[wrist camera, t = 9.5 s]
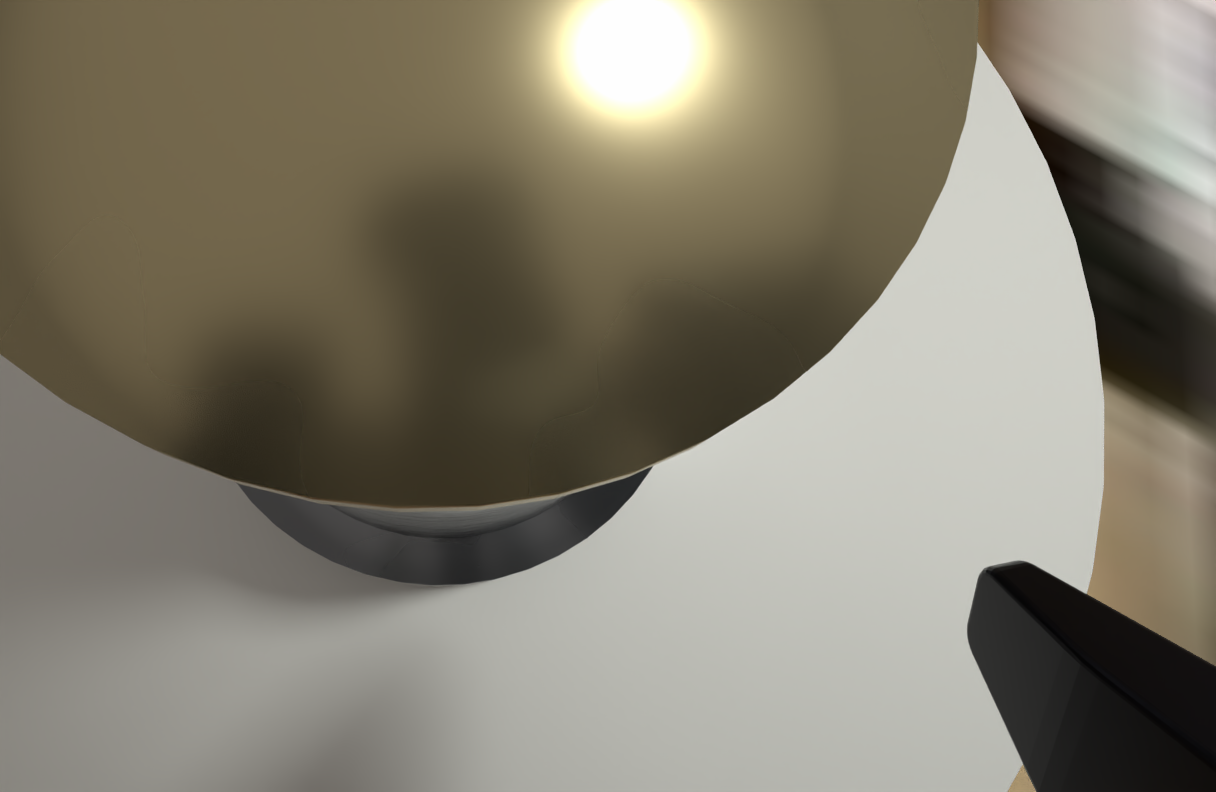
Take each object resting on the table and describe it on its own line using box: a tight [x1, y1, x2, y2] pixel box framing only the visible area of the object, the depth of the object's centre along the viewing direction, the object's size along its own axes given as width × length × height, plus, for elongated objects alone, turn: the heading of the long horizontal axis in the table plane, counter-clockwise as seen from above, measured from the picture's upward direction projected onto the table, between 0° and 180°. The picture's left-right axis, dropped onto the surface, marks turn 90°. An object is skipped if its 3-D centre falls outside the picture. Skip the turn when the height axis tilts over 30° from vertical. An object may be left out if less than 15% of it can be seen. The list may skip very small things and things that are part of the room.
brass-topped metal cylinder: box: [0, 0, 979, 586], centre depth 11 cm, size 7×7×11 cm
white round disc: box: [0, 43, 1104, 792], centre depth 17 cm, size 22×22×1 cm
